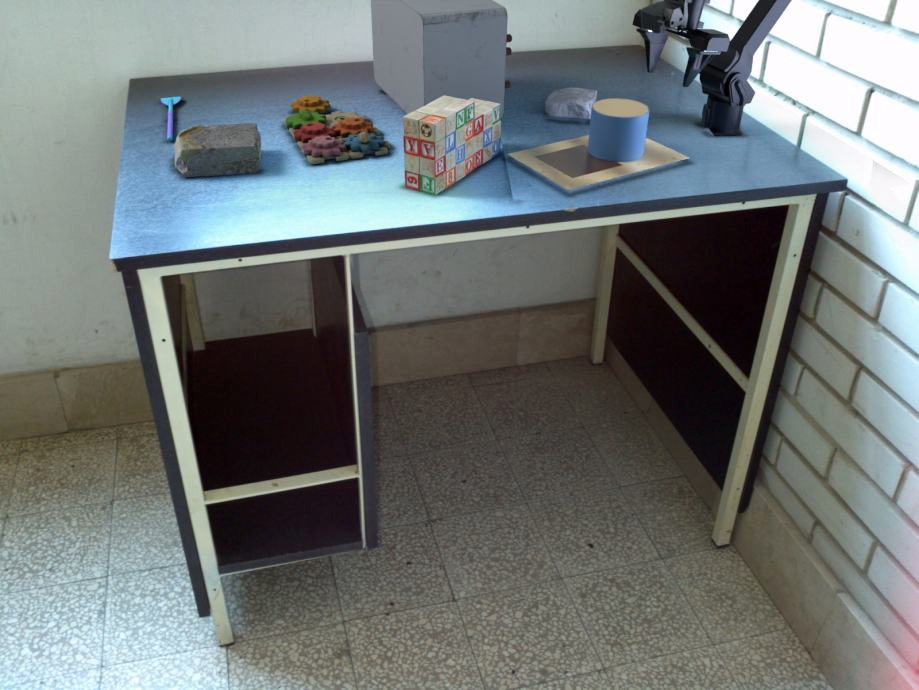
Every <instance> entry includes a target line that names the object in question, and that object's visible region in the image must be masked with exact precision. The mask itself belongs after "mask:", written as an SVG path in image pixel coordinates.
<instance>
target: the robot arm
mask: <svg viewBox="0 0 919 690" xmlns="http://www.w3.org/2000/svg"><path fill="white" fill-rule="evenodd" d="M792 1H793V0H758V1H757V2H756V4H755V5H754V7H753V8H752V9H751V10H750V12H749V13H748V14H747V17H746V18H745V20H744V21H743V23H742V24H741V25H740V27H738V30H737V31H736V32H735V34H734V35H733V37H732V38H731V39H730V36H729V34H728V33H726V32H723V31H721V30H717V29H713V28H704V25H705V22H704V21H701V17H702V14H703V10H704V6H705V5H710V3H711V0H661V1H657V2H654V3H652V4H649V5H647V6H645V7H642V8H641V9H638V10H637V11H636V12H635V13H634V16H633V20H632V26H633V27H636V29H635V30H636V32H637V33H639V34H640V36H641V38H642V39H643V42H644V48H645V59H646V61H645V62H646V71H647V73H650V74H652V73H654V70H655V69H656V67H657V65H658V63H659V60H660V57H661V55H662V53H663V50H664V49H665V45H666V43H667V41H668V38H669V36H670V33H671V34H673V35H677V36H679V37H682V38H685V39H688V41H689V42H688V43H689V44H690V46H686V47H685V50H686V52H687V55H688V58H687V61H686V62H687V63H686V66H685V71H684V75H683V79H682V87H683V88H689V86H691V84H692V83H693V81H694V80H695V79H696V78H697V77H698V75H699V83H700V85H701V91H702V94H704V95H707V99H706V103H704V104H703V107H702V112H701V119H700V124H701V125H702V127H703V128H704V129H709V131H710V132H711V134H712V135H713V136H742V135H743V131H742V130H741V122H742V118H743V113H744V107H746V106H747V105H748V104H751V103H752V101H753V99H754V97H755V95H756V91H755V90H754V88H753V87H752V85H751V84H750V83H749V81H748V79H749V77H750V76H751V73H752V71H753V63H754V56H755V54H756V53H757V51H758V49H759V48H760V47H761V45H762V44H763V42H764V41H765V39H766V38H767V37H768V35H769V34H770V32H771V31H772V29H773V28H774V26H775V25H776V24H777V22H778V21H779V19H780V18H781V16H782V15H783V14H784V12H785V11H786V10H787V8H788V7H789V5H790V3H791V2H792Z"/></svg>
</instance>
